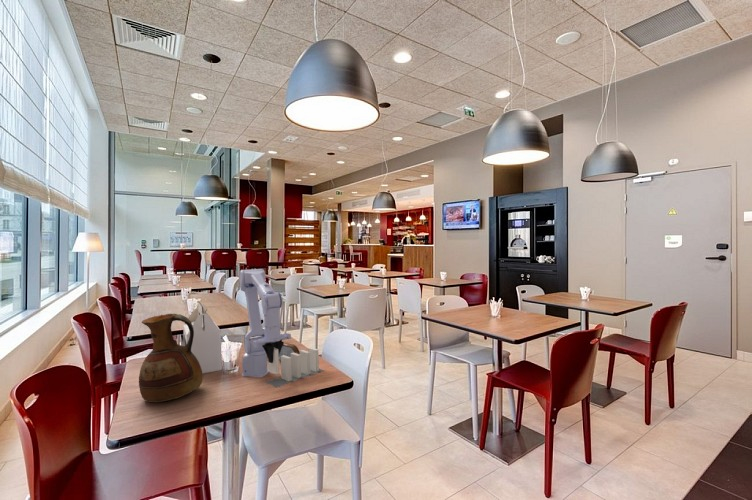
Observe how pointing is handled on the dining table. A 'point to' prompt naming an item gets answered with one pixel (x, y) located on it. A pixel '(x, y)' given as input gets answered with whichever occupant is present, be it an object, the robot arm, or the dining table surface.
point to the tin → (288, 350)
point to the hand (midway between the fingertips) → (273, 361)
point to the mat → (280, 381)
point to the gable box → (204, 340)
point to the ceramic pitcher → (168, 362)
